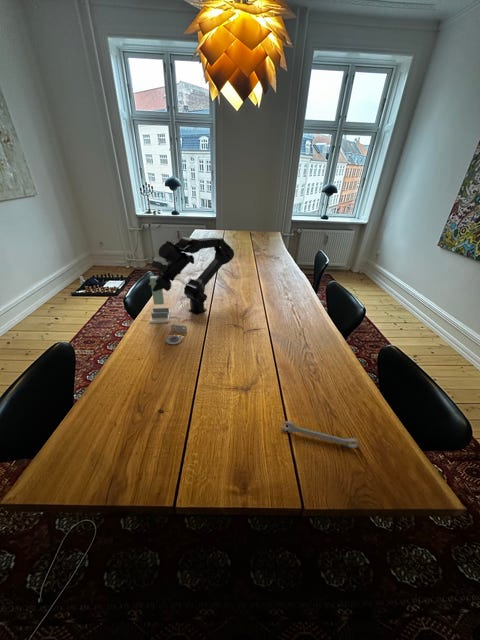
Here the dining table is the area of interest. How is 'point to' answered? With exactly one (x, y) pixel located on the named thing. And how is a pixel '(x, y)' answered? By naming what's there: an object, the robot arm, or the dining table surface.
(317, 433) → the combination wrench
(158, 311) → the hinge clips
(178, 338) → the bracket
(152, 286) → the cabinet door
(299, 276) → the dining table surface
